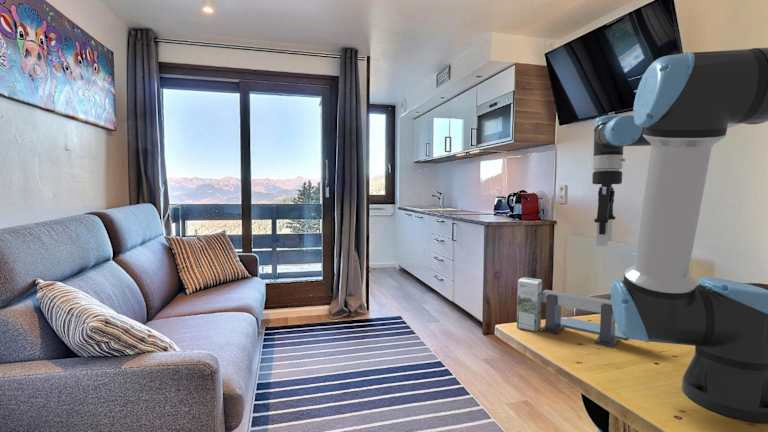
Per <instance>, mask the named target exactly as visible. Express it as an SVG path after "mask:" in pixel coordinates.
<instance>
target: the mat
mask: <svg viewBox="0 0 768 432" xmlns="http://www.w3.org/2000/svg"><path fill="white" fill-rule="evenodd" d="M562 318H567V319H562ZM561 325H565V326H564V328H566V329H567V328H568V329H573V330H577V331H582V332H586V333H590V334H591V333H592V334H595V335H600V323H597V322H593V321H587V320H583V319H577V318H572V317H567V316H562V315H561ZM615 336H617V337H619V340H623V341H625V340H626V339H627V338H626V337H625V336H623V335H622V334H621V332H620V331H619V329H618V327H617V326H615Z"/></svg>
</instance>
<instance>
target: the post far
mask: <svg viewBox="0 0 768 432" xmlns="http://www.w3.org/2000/svg"><path fill="white" fill-rule="evenodd" d="M561 316H562V306H560V305H556V297H554V296H548V295H547V296H546V303H545V325H544V326H542V327H541V329H540V331H541V332H544V333H549V334H552V335H553V334H554V335H557V336H558V335H559V334H560V333H561V332H562V331H563V330H564V329H565V327H564V326H565V325H561Z"/></svg>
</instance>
